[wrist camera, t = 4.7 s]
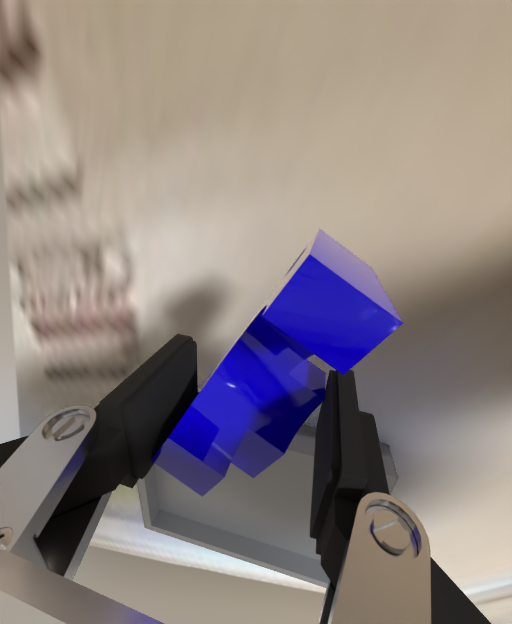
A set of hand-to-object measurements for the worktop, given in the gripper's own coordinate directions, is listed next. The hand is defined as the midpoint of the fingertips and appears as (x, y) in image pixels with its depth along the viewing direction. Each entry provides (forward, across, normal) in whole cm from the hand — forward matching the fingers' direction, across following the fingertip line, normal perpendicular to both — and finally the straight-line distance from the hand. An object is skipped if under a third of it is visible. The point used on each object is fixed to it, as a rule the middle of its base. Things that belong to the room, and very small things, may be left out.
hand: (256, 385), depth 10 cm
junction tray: (+8, +1, +18) cm, 19 cm away
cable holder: (+1, -1, -2) cm, 2 cm away
